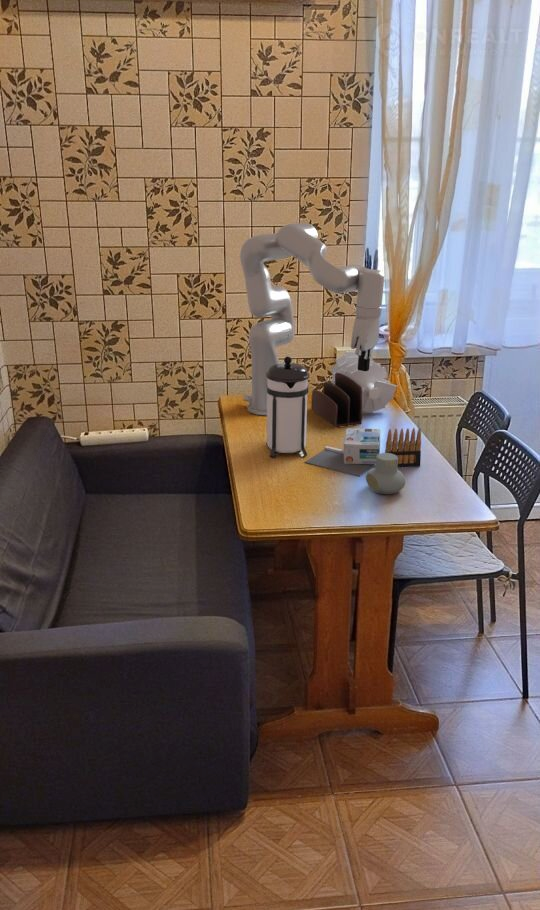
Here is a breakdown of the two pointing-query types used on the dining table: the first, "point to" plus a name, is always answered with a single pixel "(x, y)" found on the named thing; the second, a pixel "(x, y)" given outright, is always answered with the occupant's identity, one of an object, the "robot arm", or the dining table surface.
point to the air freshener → (385, 475)
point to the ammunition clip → (405, 448)
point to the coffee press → (286, 407)
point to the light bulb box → (361, 446)
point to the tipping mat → (337, 462)
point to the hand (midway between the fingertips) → (363, 370)
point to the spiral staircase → (366, 381)
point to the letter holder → (339, 402)
